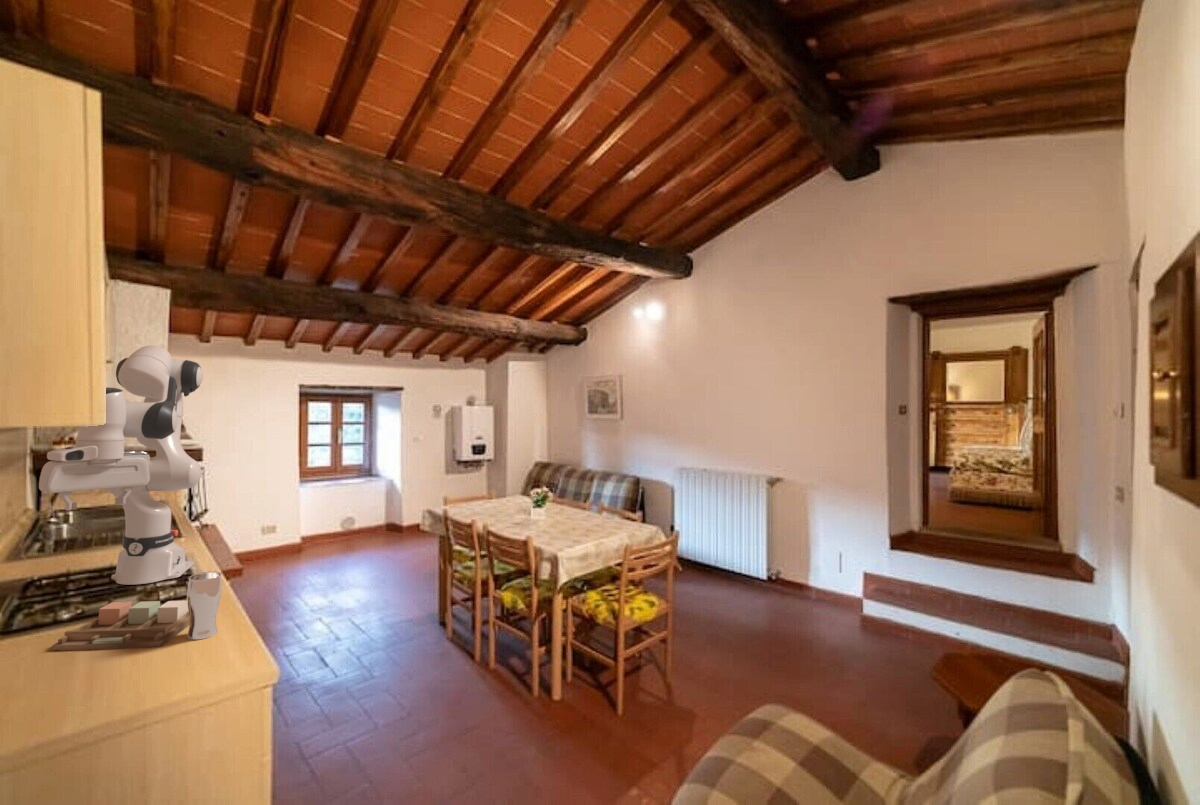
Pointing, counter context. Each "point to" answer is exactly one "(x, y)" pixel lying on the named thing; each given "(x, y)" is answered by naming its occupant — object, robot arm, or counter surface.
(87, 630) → the brown compartment tray
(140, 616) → the sage green cube
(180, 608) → the pale pink cube
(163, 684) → the counter surface
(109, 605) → the salmon pink cube
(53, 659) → the counter surface
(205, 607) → the beer glass
